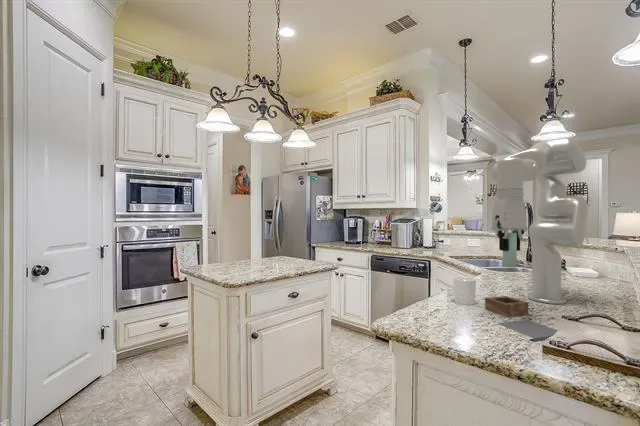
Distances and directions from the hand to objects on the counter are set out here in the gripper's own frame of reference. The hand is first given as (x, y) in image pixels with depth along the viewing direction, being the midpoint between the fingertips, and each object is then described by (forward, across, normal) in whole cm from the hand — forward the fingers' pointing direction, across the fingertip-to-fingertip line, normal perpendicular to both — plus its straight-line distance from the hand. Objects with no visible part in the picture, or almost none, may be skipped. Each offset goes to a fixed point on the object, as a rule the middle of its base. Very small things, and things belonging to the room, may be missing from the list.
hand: (509, 249), depth 104 cm
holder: (+23, -2, -3) cm, 23 cm away
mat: (+23, +4, +11) cm, 26 cm away
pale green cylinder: (+5, 0, 0) cm, 5 cm away
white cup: (+23, +4, -17) cm, 29 cm away
